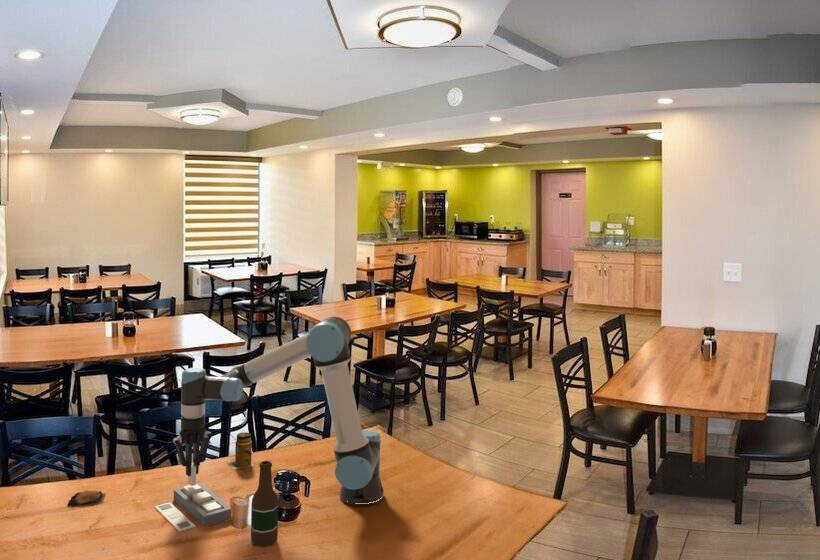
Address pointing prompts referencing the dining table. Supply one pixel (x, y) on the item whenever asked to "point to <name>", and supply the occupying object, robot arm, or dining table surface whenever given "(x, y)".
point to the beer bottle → (264, 509)
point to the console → (197, 511)
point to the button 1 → (191, 489)
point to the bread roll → (86, 498)
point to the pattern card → (175, 516)
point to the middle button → (201, 497)
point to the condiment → (242, 452)
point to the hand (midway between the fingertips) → (192, 484)
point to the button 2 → (211, 507)
